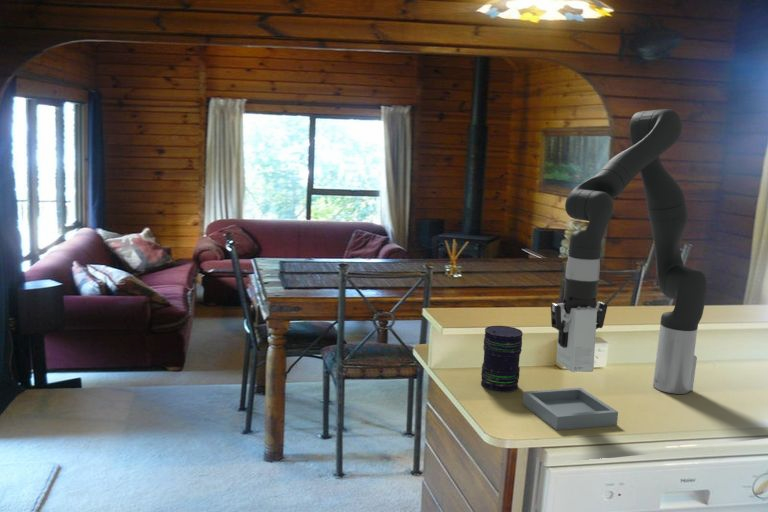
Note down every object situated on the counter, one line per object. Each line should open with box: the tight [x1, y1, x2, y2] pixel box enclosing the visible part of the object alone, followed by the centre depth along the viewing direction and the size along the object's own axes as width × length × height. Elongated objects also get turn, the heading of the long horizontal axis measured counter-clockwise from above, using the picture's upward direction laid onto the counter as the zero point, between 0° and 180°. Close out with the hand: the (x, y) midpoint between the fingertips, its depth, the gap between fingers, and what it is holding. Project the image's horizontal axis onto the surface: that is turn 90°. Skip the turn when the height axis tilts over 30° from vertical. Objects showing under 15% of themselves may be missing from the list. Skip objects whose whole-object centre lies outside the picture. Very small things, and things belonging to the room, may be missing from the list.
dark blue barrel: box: [480, 325, 524, 393], centre depth 194 cm, size 10×10×15 cm
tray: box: [522, 387, 619, 431], centre depth 177 cm, size 16×16×3 cm
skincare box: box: [556, 307, 597, 373], centre depth 174 cm, size 8×6×15 cm
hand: (575, 345), depth 175 cm, fingers closed on skincare box, 6 cm apart
